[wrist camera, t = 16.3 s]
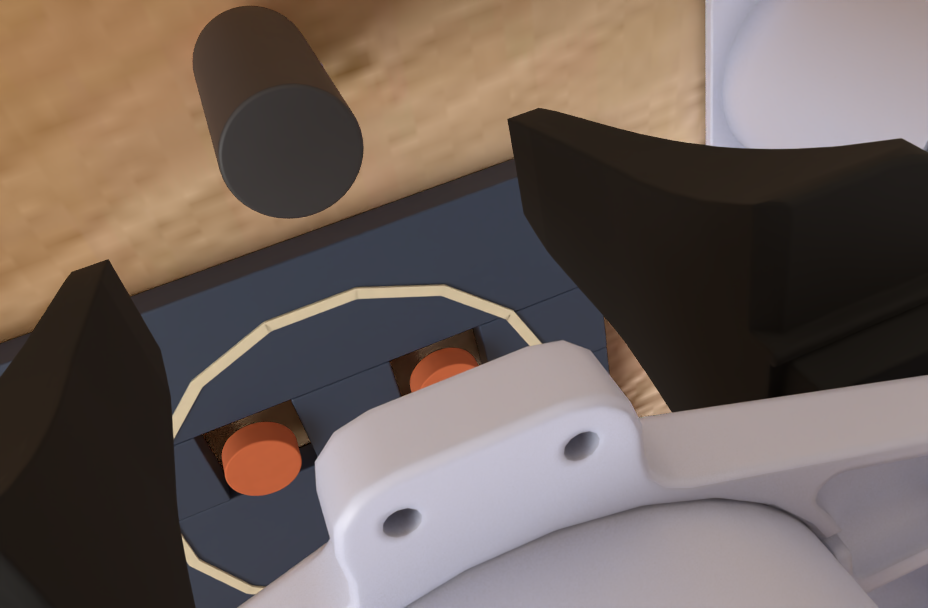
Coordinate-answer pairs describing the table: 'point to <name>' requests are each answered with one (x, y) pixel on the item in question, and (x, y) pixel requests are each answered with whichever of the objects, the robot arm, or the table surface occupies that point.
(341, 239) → the face board
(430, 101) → the table surface
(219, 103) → the marker
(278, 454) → the eye
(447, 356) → the eye
